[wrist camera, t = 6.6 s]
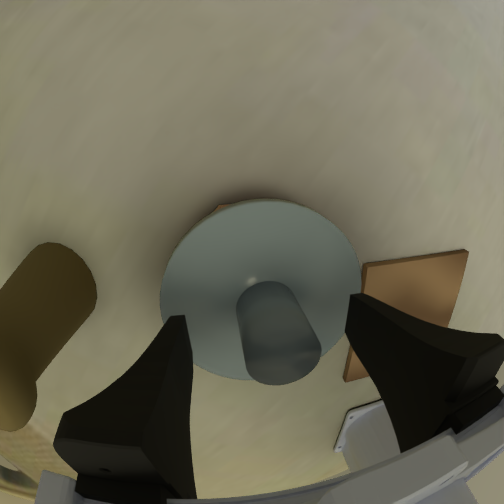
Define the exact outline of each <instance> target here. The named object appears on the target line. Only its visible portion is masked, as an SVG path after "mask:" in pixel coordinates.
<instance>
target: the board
mask: <svg viewBox="0 0 504 504" xmlns="http://www.w3.org/2000/svg"><path fill="white" fill-rule="evenodd" d="M468 254H469V252H468V251H467V250H465V249H463V250H457V251H450V252H444V253H437V254H430V255H423V256H417V257H409V258H402V259H395V260H388V261H380V262H373V263H365V264H363V272H362V279H361V293H364V294H367V295H369V296H372V297H374V298H376V299H378V300H380V301H382V302H384V303H386V304H388V305H390V306H392V307H394V308H396V309H398V310H400V311H402V312H405V313H407V314H409V315H411V316H414V317H416V318H418V319H421V320H424V321H426V322H429V323H432V324H435V325H439V326H442V327H446V328H447V327H448V324H449V321H450V318H451V315H452V312H453V309H454V306H455V303H456V300H457V296H458V293H459V290H460V286H461V282H462V279H463V275H464V271H465V267H466V263H467V258H468ZM368 376H369V374H368V372H367V371H366V369H365V368H364V366H363V365H362V363H361V362H360V360H359V358H358V357H357V355H356V354H355V352H354V350H353V349H352V347H351V345H350V349H349V354H348V358H347V363H346V367H345V371H344V376H343V379H344V381H345V383H346V382H350V381H353V380H357V379H361V378H364V377H368Z"/></svg>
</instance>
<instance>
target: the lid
mask: <svg viewBox="0 0 504 504" xmlns="http://www.w3.org/2000/svg"><path fill="white" fill-rule="evenodd" d="M356 293H361V271H360V266H359V262H358V259H357V256H356V253H355V251H354V249H353V247H352V245H351V243H350V242H349V240H348V239H347V238H346V236H345V235H344V234H343V232H342V231H340V230H339V229H338V228H337V227H336V226H335V225H334V224H333V223H332V222H330V221H329V220H327V219H326V218H324V217H323V216H322V215H320V214H319V213H317V212H316V211H314V210H312V209H310V208H308V207H306V206H304V205H301V204H298V203H295V202H291V201H287V200H281V199H266V198H261V199H252V200H245V201H241V202H237V203H233V204H230V205H228V206H226V207H223V208H221V209H218V210H216V211H215V212H213V213H211V214H209V215H208V216H206V217H204V218H203V219H202V220H201V221H199V222H198V223H197V224H195V225H194V226H193V227H192V228H191V229H190V230H189V231H188V232H187V233H186V234H185V235H184V236H183V238H182V239H181V240H180V242H179V243H178V244H177V246H176V247H175V249H174V251H173V253H172V255H171V257H170V259H169V262H168V264H167V267H166V270H165V273H164V277H163V280H162V285H161V291H160V309H161V316H162V320H163V323H164V324H165V323H166V321H167V320H168V318H169V317H170V316H173V315H185V318H186V323H187V328H188V333H189V338H190V342H191V347H192V351H193V363H194V364H196V365H197V366H199V367H201V368H203V369H205V370H207V371H209V372H211V373H214V374H217V375H219V376H223V377H227V378H232V379H239V380H256V381H258V382H260V383H263V384H267V385H284V384H288V383H292V382H294V381H297V380H299V379H301V378H303V377H304V376H306V375H307V374H308V373H310V372H311V371H312V370H313V369H314V368H315V366H316V365H317V363H318V362H319V360H320V357H321V356H323V355H324V354H325V353H327V352H328V351H329V350H330V349H331V348H332V347H333V346H334V345H335V344H336V343H337V342H338V340H339V339H340V338H341V337H342V336H343V334H344V333H345V325H346V319H347V313H348V306H349V299H350V294H356Z"/></svg>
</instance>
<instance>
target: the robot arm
mask: <svg viewBox="0 0 504 504" xmlns="http://www.w3.org/2000/svg"><path fill="white" fill-rule="evenodd" d="M345 333H346V335H347V338H348V340H349V342H350V345H351V347H352V349H353V350H354V352H355V354H356V355H357V357H358V358H359V360H360V362H361V363H362V365H363V366H364V368H365V369H366V371H367V372H368V374H369V376H370V377H371V379H372V380H373V382H374V384H375V386H376V387H377V389H378V391H379V393H380V396H381V398H382V400H381V401H378V402H375V403H372V404H369V405H366V406H363V407H359V408H356V409H353V410H350V411H349V412H348V413H347V415H346V418H345V421H344V424H343V427H342V429H341V432H340V435H339V437H338V440H337V443H336V445H335V448H334V452H335V453H337V452H340V451H342V453H343V455H344V457H345V460H346V462H347V465H348V467H349V469H350V471H351V473H350V474H347V475H344V476H340V477H337V478H334V479H330V480H327V481H323V482H319V483H315V484H311V485H307V486H303V487H298V488H293V489H289V490H283V491H278V492H272V493H266V494H259V495H251V496H242V497H231V498H216V499H197V495H196V488H195V481H194V473H193V464H192V453H191V441H190V404H191V392H192V381H193V351H192V347H191V342H190V338H189V333H188V328H187V323H186V318H185V315H173V316H170V317H169V318H168V320H167V321H166V323H165V324H164V326H163V327H162V329H161V330H160V331H159V333H158V334H157V336H156V337H155V338H154V340H153V341H152V343H151V344H150V345H149V347H148V348H147V349H146V350H145V352H144V353H143V354H142V355H141V356H140V358H139V359H138V360H137V361H136V362H135V363H134V364H133V365H132V366H131V367H130V368H129V369H128V370H127V371H126V372H125V373H124V374H123V375H122V376H121V377H120V378H118V379H117V380H116V381H115V382H113V383H112V384H111V385H110V386H108V387H107V388H106V389H105V390H103V391H102V392H100V393H99V394H97V395H96V396H94V397H92V398H91V399H89V400H88V401H86V402H84V403H82V404H80V405H78V406H76V407H74V408H72V409H70V410H68V411H66V412H64V413H63V415H62V418H61V420H60V423H59V426H58V429H57V432H56V435H55V439H54V442H53V446H54V449H55V451H56V452H57V453H58V455H59V456H60V457H61V458H62V459H63V460H64V461H65V462H66V463H67V464H68V465H69V466H70V467H72V468H73V469H74V470H75V471H76V472H77V473H78V476H77V481H76V480H75V479H73V478H70V477H68V476H64V475H61V474H57V473H54V472H50V471H47V470H42V474H41V478H40V482H39V486H38V490H37V494H36V499H35V504H478V503H477V501H476V499H475V498H474V496H473V494H472V492H471V491H470V489H469V487H468V486H467V484H466V482H467V481H468V480H470V479H471V478H472V477H473V476H475V475H476V474H477V473H479V472H480V471H481V470H482V469H483V468H485V467H486V466H487V465H488V464H489V463H491V462H492V461H493V460H494V459H495V458H496V457H497V456H499V455H500V454H501V453H502V452H503V451H504V385H503V386H502V387H501V388H500V389H499V388H498V387H497V386H496V385H497V384H498V379H497V378H496V377H495V375H496V374H497V372H498V370H499V368H500V366H501V365H502V363H503V361H504V339H503V338H502V337H501V336H500V335H498V334H490V333H474V332H466V331H460V330H455V329H451V328H446V327H442V326H439V325H435V324H432V323H429V322H426V321H424V320H421V319H418V318H416V317H414V316H411V315H409V314H407V313H405V312H402V311H400V310H398V309H396V308H394V307H392V306H390V305H388V304H386V303H384V302H382V301H380V300H378V299H376V298H374V297H372V296H369V295H367V294H364V293H356V294H350V299H349V306H348V313H347V319H346V325H345Z"/></svg>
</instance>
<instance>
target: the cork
mask: <svg viewBox="0 0 504 504" xmlns="http://www.w3.org/2000/svg"><path fill="white" fill-rule="evenodd" d="M96 300H97V292H96V284H95V281H94V279H93V276H92V273H91V271H90V270H89V268H88V267H87V265H86V264H85V262H84V261H83V259H82V258H80V257H79V256H78V255H77V254H76V253H75V252H74V251H73V250H71V249H69V248H67V247H65V246H63V245H61V244H58V243H50V242H47V243H44V244H41V245H38V246H37V247H36V248H34V249H33V250H32V251H31V252H30V253H29V254H28V256H27V257H26V258H25V259H24V260H23V262H22V263H21V264H20V265H19V266H18V268H17V269H16V270H15V271H14V273H13V274H12V275H11V276H10V278H9V279H8V280H7V281H6V283H5V284H4V285H3V287H2V288H1V289H0V430H4V431H8V432H12V431H17V430H19V429H21V428H23V427H24V426H25V425H26V424H27V423H28V421H29V420H30V418H31V417H32V415H33V412H34V410H35V407H36V402H37V387H36V381H37V379H38V378H39V377H40V375H41V374H42V373H43V372H44V370H45V369H46V368H47V366H48V365H49V364H50V363H51V361H52V360H53V359H54V358H55V356H56V355H57V354H58V353H59V351H60V350H61V349H62V348H63V346H64V345H65V344H66V343H67V342H68V340H69V339H70V338H71V337H72V336H73V334H74V333H75V332H76V331H77V330H78V328H79V327H80V326H81V325H82V324H83V323H84V322H85V320H86V319H87V318H88V317H89V316H90V314H91V313H92V311H93V310H94V309H95V304H96Z"/></svg>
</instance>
